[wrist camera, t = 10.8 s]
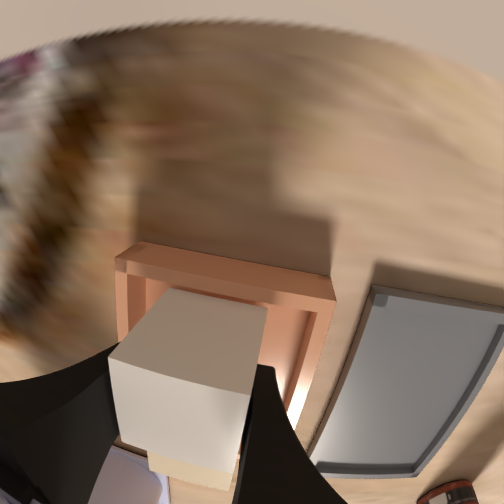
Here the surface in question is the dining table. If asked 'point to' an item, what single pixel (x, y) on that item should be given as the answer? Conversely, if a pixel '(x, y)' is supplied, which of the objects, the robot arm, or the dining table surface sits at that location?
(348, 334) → the dining table surface
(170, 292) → the cream cube on tray
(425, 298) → the parts tray
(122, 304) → the terracotta dish
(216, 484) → the tan cube
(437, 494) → the supplement bottle
